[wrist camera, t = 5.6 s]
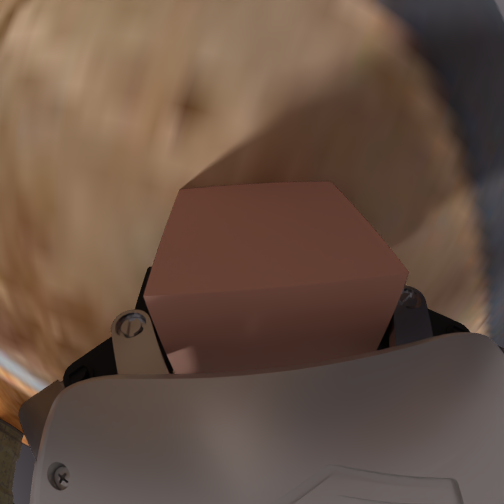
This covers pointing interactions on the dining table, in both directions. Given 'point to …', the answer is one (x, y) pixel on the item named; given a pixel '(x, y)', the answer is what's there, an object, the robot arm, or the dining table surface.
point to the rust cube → (269, 278)
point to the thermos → (8, 459)
